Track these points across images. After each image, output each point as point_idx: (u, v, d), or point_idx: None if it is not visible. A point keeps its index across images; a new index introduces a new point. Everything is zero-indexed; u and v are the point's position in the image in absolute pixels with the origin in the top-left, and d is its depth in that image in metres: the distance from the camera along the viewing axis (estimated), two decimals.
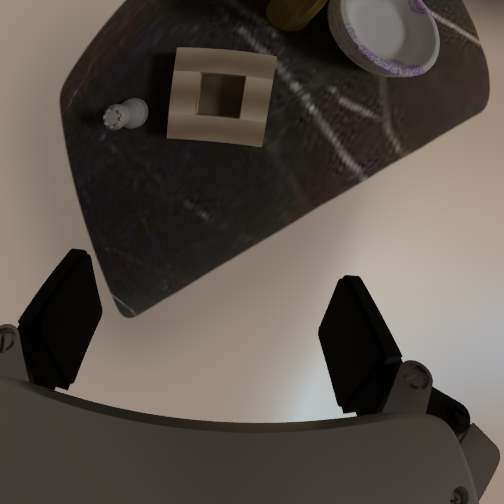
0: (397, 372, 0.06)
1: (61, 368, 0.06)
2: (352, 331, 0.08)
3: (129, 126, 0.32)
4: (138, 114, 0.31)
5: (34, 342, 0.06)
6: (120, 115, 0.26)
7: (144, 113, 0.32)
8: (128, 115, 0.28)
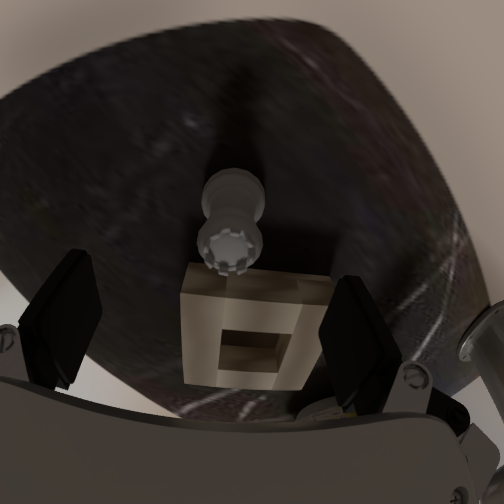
0: (397, 372, 0.06)
1: (61, 368, 0.06)
2: (352, 331, 0.08)
3: (205, 205, 0.18)
4: None
5: (34, 342, 0.06)
6: (231, 266, 0.14)
7: None
8: None
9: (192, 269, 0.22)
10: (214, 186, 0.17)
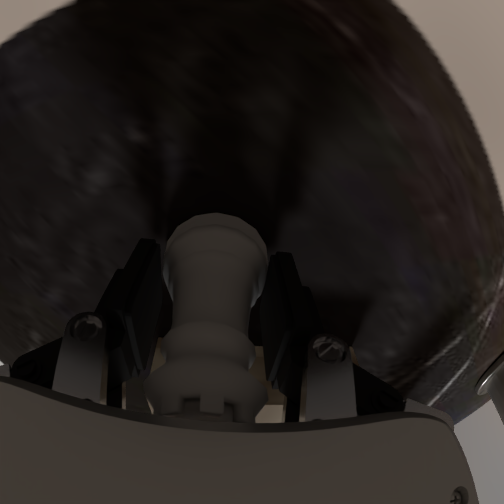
0: (308, 343, 0.07)
1: (139, 354, 0.08)
2: (274, 303, 0.09)
3: (167, 282, 0.10)
4: None
5: (118, 328, 0.07)
6: None
7: None
8: None
9: None
10: (179, 252, 0.10)
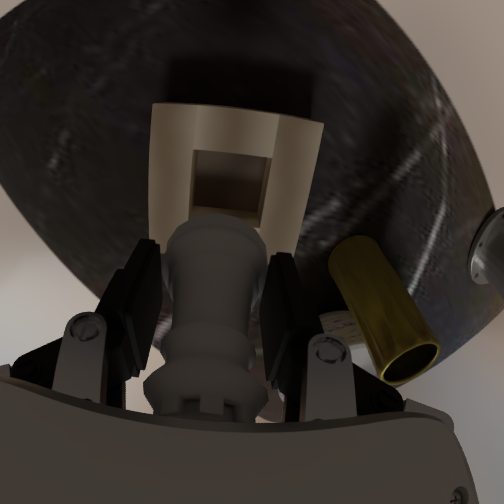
0: (308, 343, 0.07)
1: (139, 354, 0.08)
2: (274, 303, 0.09)
3: (167, 282, 0.10)
4: None
5: (118, 328, 0.07)
6: None
7: None
8: None
9: None
10: (179, 252, 0.10)
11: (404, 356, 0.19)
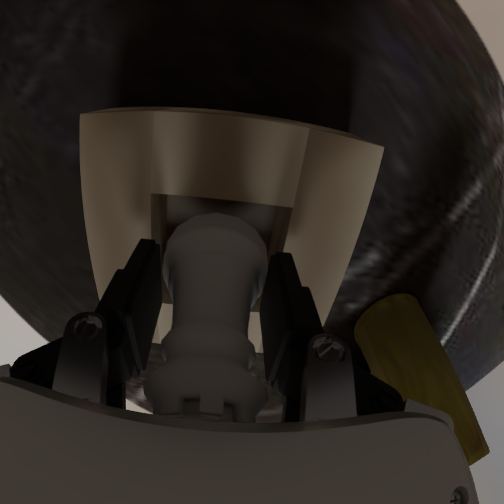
0: (308, 343, 0.07)
1: (139, 354, 0.08)
2: (274, 303, 0.09)
3: (167, 282, 0.10)
4: None
5: (118, 328, 0.07)
6: None
7: None
8: None
9: (118, 108, 0.11)
10: (179, 252, 0.10)
11: None
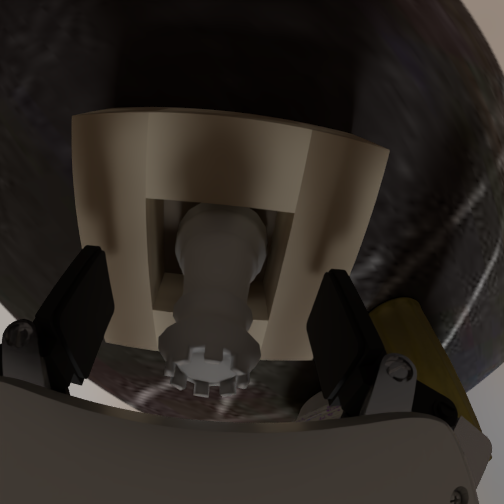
0: (379, 364, 0.06)
1: (77, 363, 0.07)
2: (336, 323, 0.08)
3: (179, 258, 0.12)
4: None
5: (51, 337, 0.06)
6: (213, 382, 0.08)
7: None
8: None
9: None
10: (190, 232, 0.12)
11: None
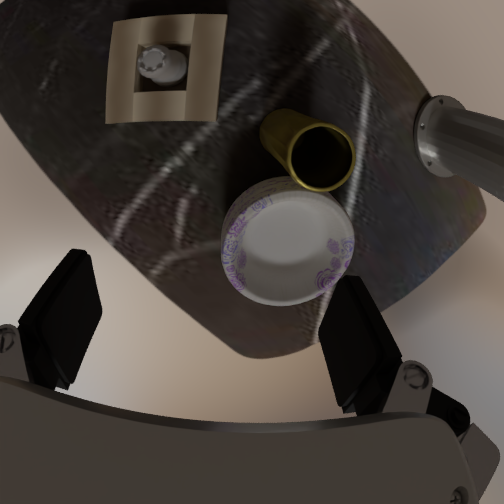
0: (397, 372, 0.06)
1: (61, 368, 0.06)
2: (352, 331, 0.08)
3: None
4: (163, 79, 0.23)
5: (34, 342, 0.06)
6: (154, 70, 0.19)
7: (165, 84, 0.24)
8: None
9: None
10: None
11: (327, 175, 0.21)
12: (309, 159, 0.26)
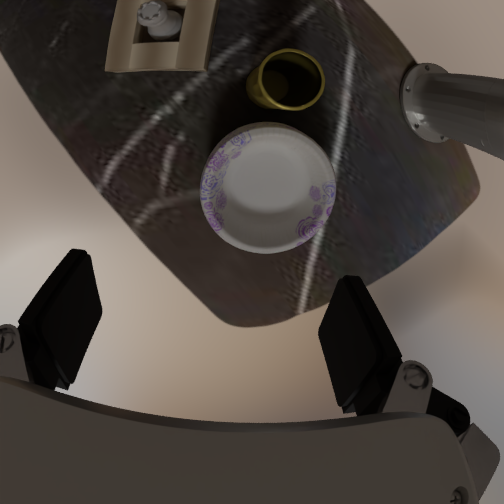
0: (397, 372, 0.06)
1: (61, 368, 0.06)
2: (352, 331, 0.08)
3: None
4: (160, 33, 0.22)
5: (34, 342, 0.06)
6: (150, 19, 0.18)
7: (161, 38, 0.24)
8: (153, 25, 0.20)
9: None
10: None
11: (301, 102, 0.21)
12: (289, 101, 0.25)
